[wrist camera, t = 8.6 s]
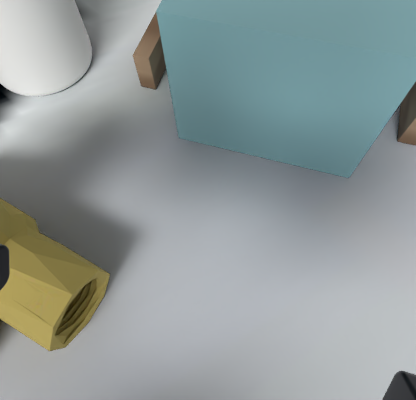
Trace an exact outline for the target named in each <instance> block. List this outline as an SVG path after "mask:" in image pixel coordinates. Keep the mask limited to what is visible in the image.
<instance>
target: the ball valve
mask: <svg viewBox="0 0 416 400" xmlns="http://www.w3.org/2000/svg"><path fill="white" fill-rule="evenodd" d="M0 244H3V245H5V246H7V247H8V249H9V266H10V275H9V279H8V281H7V283H6V285H5V286H4V287H3V288H2V289H1V290H0V319H1V320H2V321H4V322H6V323H7V324H9V325H10V326H12V327H13V328H15V329H16V330H18V331H19V332H21V333H22V334H24V335H25V336H27V337H29V338H30V339H32V340H33V341H35V342H36V343H38V344H39V345H41V346H42V347H44V348H45V349H47V350H48V351H52V350H57V349H61V348H65V347H66V346H67V345H68V344H69V343H70V342H71V341H72V340H73V339H74V338H75V337H76V335H77V334H78V333H79V332H80V331H81V330H82V329H83V328H84V327H85V326H86V325H87V324H88V322H89V321H90V319H91V317H92V316H93V314H94V312H95V311H96V309H97V307H98V306H99V304H100V302H101V301H102V299H103V297H104V295H105V291H106V288H107V284H108V280H109V276H110V274H109V273H108V272H106V271H104V270H103V269H101V268H99V267H98V266H96V265H95V264H93V263H91V262H90V261H88V260H86V259H85V258H83V257H82V256H80V255H78V254H77V253H75V252H73V251H72V250H70V249H69V248H67V247H65V246H64V245H62V244H60V243H58V242H56V241H54V240H52V239H50V238H49V237H47V236H45V235H43V234H41V233H39V230H38V227H37V224H36V221H35V219H33V218H32V217H30V216H29V215H27V214H25V213H24V212H22V211H20V210H19V209H17V208H16V207H14V206H12V205H11V204H9V203H7V202H6V201H4V200H3V199H1V198H0Z"/></svg>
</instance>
